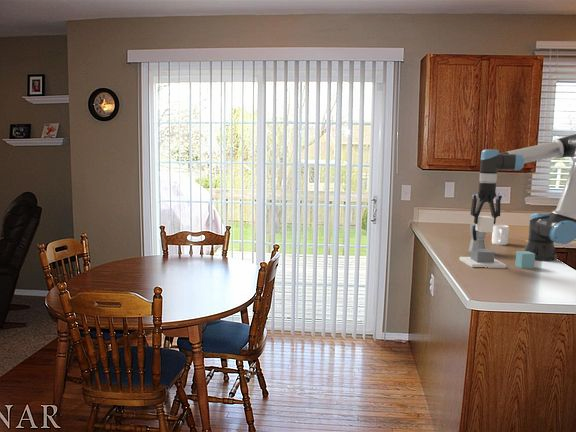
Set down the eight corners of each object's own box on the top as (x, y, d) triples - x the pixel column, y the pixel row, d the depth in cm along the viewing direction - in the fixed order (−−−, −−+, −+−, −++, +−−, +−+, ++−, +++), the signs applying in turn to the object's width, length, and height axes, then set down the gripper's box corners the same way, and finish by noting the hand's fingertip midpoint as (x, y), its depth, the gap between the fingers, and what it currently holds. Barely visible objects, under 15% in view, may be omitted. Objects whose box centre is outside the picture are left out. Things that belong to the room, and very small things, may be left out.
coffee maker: (471, 248, 272) (473, 216, 269) (488, 251, 267) (490, 218, 264) (463, 253, 260) (466, 219, 257) (481, 255, 255) (483, 221, 252)
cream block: (487, 230, 237) (488, 215, 236) (492, 232, 231) (494, 217, 230) (475, 230, 237) (476, 215, 236) (480, 232, 231) (481, 217, 230)
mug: (492, 245, 282) (493, 227, 281) (491, 242, 293) (492, 224, 292) (508, 246, 279) (510, 228, 278) (506, 243, 291) (508, 225, 289)
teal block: (527, 265, 234) (528, 251, 233) (534, 268, 228) (535, 253, 227) (515, 265, 234) (516, 251, 233) (521, 268, 228) (522, 253, 227)
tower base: (491, 260, 244) (492, 247, 243) (505, 267, 228) (506, 254, 228) (459, 259, 244) (460, 246, 243) (471, 267, 228) (472, 253, 227)
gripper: (504, 182, 235) (500, 229, 238) (464, 181, 234) (461, 229, 238) (511, 183, 227) (507, 232, 231) (470, 182, 227) (467, 231, 230)
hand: (484, 230), depth 234 cm, fingers closed on cream block, 6 cm apart
